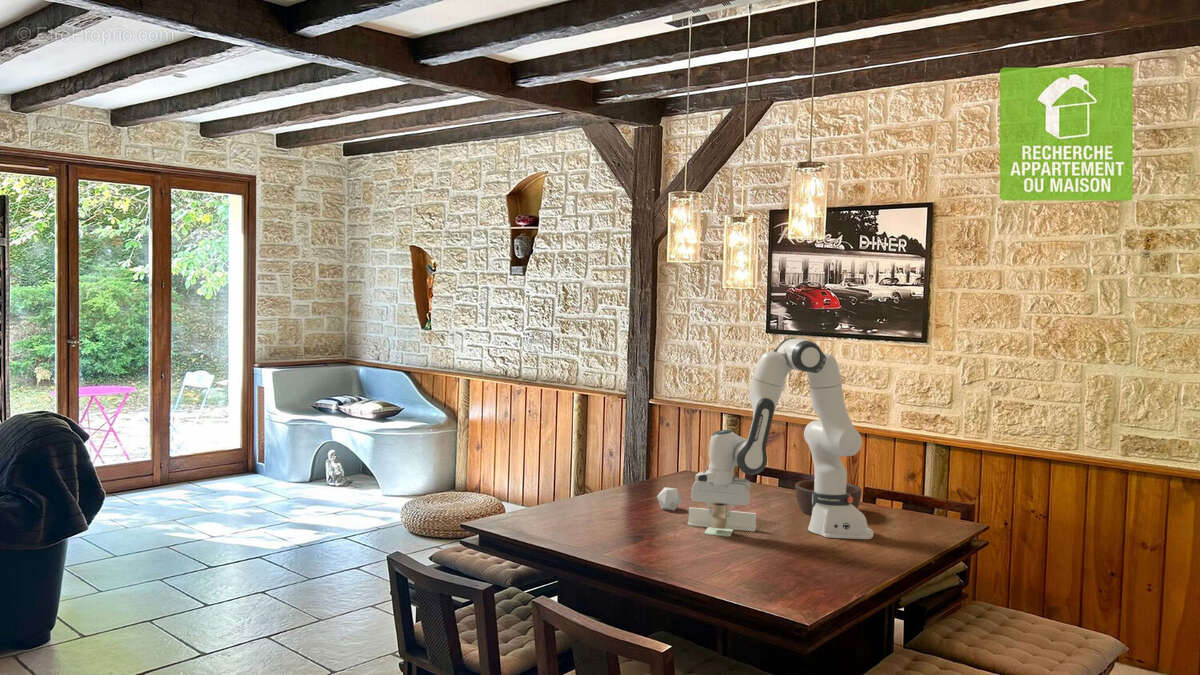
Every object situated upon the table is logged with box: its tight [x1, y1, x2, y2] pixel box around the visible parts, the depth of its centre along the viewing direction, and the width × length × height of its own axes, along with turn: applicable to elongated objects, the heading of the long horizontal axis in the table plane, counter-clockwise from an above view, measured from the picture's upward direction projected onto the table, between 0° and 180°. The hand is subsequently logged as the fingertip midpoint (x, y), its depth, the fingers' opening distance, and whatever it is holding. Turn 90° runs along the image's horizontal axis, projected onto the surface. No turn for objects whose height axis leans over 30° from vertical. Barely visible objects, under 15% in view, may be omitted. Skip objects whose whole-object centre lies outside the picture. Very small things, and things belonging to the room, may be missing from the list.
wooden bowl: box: [794, 479, 862, 516], centre depth 351 cm, size 25×25×10 cm
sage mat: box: [703, 527, 734, 538], centre depth 317 cm, size 9×9×1 cm
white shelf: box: [687, 506, 757, 532], centre depth 324 cm, size 24×4×6 cm, turn 75°
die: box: [656, 486, 682, 511], centre depth 349 cm, size 8×9×10 cm
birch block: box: [712, 503, 728, 529], centre depth 317 cm, size 4×4×8 cm
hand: (719, 515), depth 317 cm, fingers closed on birch block, 4 cm apart
